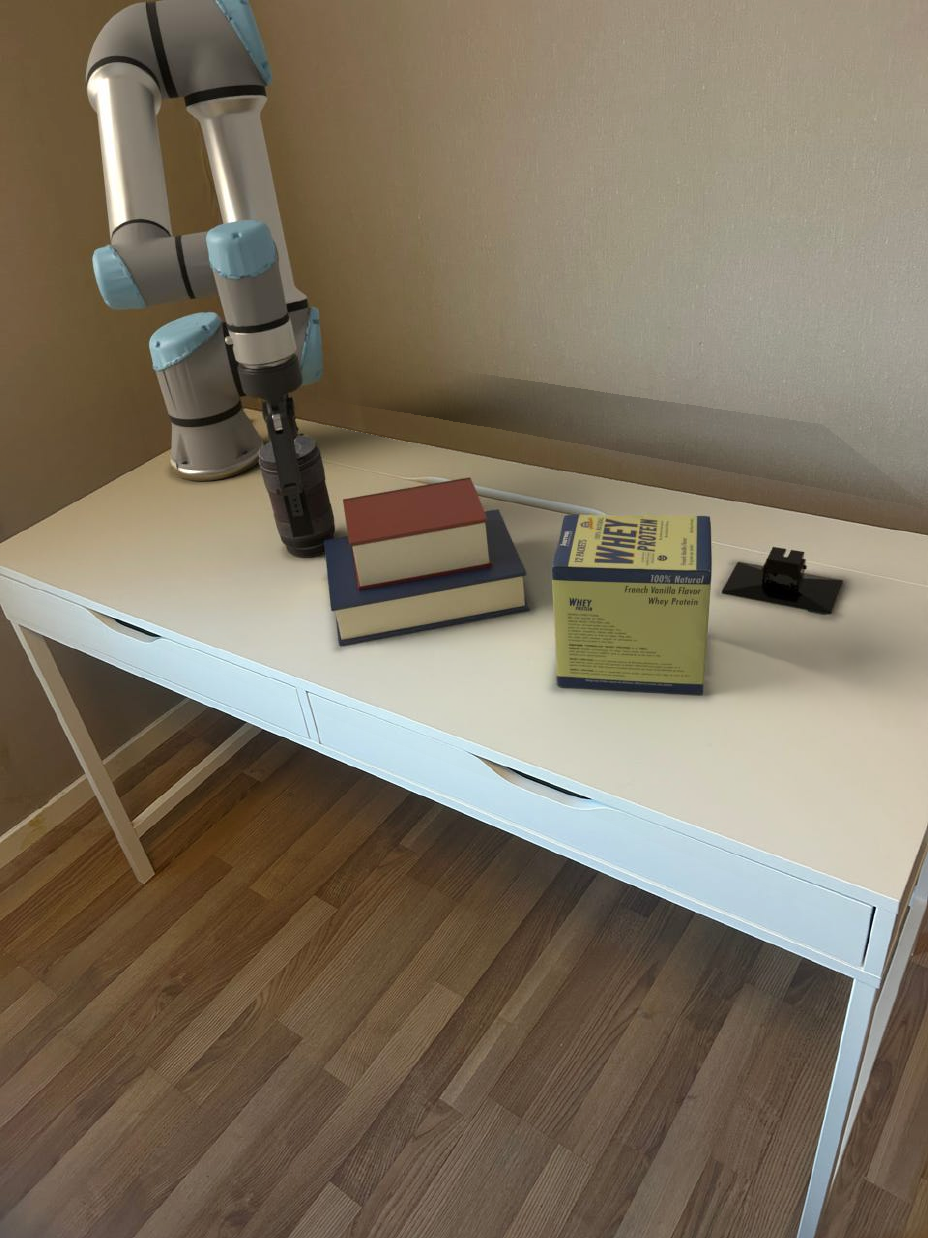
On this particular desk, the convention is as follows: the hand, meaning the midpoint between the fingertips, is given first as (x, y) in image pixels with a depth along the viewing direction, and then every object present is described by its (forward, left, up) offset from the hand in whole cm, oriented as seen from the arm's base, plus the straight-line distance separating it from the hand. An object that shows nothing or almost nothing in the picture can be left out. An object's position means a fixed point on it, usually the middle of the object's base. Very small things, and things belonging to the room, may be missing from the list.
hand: (302, 511), depth 126 cm
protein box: (+38, +34, -6) cm, 51 cm away
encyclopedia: (+17, +14, -6) cm, 23 cm away
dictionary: (+17, +14, 0) cm, 22 cm away
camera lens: (0, 0, -6) cm, 6 cm away
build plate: (+30, +55, -6) cm, 63 cm away
